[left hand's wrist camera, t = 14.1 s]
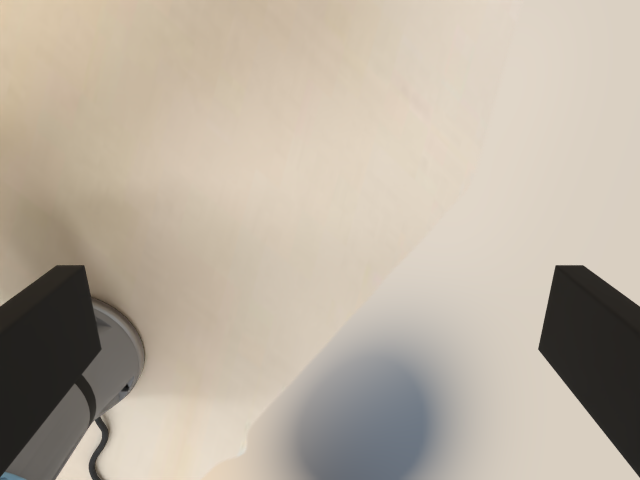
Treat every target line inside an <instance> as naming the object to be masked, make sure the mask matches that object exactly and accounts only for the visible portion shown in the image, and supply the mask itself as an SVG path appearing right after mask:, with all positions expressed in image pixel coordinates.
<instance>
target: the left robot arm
mask: <svg viewBox="0 0 640 480" xmlns="http://www.w3.org/2000/svg"><path fill="white" fill-rule="evenodd" d="M538 350H539V351H540V352H541V353H542V355H543V356H544V357H545V358H546V360H547V361H548V362H549V364H550V365H551V366H552V367H553V369H554V370H555V371H556V372H557V374H558V375H559V376H560V377H561V379H562V380H563V381H564V382H565V384H566V385H567V386H568V387H569V389H570V390H571V391H572V393H573V394H574V395H575V396H576V398H577V399H578V400H579V401H580V403H581V404H582V405H583V406H584V408H585V409H586V410H587V411H588V413H589V414H590V415H591V417H592V418H593V419H594V420H595V422H596V423H597V424H598V425H599V427H600V428H601V429H602V430H603V432H604V433H605V434H606V435H607V437H608V438H609V439H610V441H611V442H612V443H613V444H614V446H615V447H616V448H617V449H618V451H619V452H620V453H621V454H622V456H623V457H624V458H625V459H626V461H627V462H628V463H629V465H630V466H631V467H632V468H633V470H634V471H635V472H636V473H637V475H638V476H639V477H640V306H638V305H637V304H635V303H634V302H633V301H631V300H630V299H629V298H627V297H626V296H624V295H623V294H622V293H620V292H619V291H618V290H616V289H615V288H613V287H612V286H611V285H609V284H608V283H607V282H605V281H604V280H602V279H601V278H600V277H598V276H597V275H596V274H594V273H593V272H591V271H590V270H589V269H587V268H586V267H585V266H583V265H556V267H555V271H554V276H553V281H552V286H551V290H550V295H549V300H548V305H547V310H546V314H545V319H544V324H543V329H542V334H541V338H540V343H539V348H538ZM144 359H145V358H144V348H143V344H142V341H141V339H140V336H139V335H138V333H137V331H136V329H135V328H134V326H133V325H132V324H131V323H130V321H129V320H128V319H127V318H126V317H125V316H124V315H122V314H121V313H120V312H119V311H117V310H116V309H115V308H113V307H112V306H110V305H108V304H106V303H104V302H102V301H100V300H97V299H94V298H91V295H90V290H89V285H88V281H87V276H86V271H85V266H84V265H57V266H55V267H54V268H53V269H51V270H50V271H48V272H47V273H46V274H44V275H43V276H42V277H40V278H39V279H38V280H36V281H35V282H33V283H32V284H31V285H29V286H28V287H27V288H25V289H24V290H22V291H21V292H20V293H18V294H17V295H16V296H14V297H13V298H11V299H10V300H9V301H7V302H6V303H5V304H3V305H2V306H0V480H55V479H56V478H57V476H58V474H59V473H60V471H61V470H62V468H63V467H64V465H65V464H66V462H67V461H68V459H69V457H70V456H71V454H72V453H73V451H74V450H75V448H76V447H77V445H78V443H79V442H80V440H81V439H82V437H83V436H84V434H85V432H86V431H87V429H88V428H89V426H90V425H91V423H92V422H93V421H94V420H95V422H96V424H97V425H98V427H99V428H100V429H101V431H102V440H101V443H100V445H99V446H98V448H97V449H96V451H95V452H94V453H93V455H92V457H91V459H90V462H89V472H90V475H91V477H92V479H93V480H100V479H99V477H98V476H97V474H96V471H95V461H96V459H97V457H98V456H99V454H100V453H101V451H102V450H103V448H104V447H105V445H106V443H107V440H108V429H107V427H106V425H105V424H104V422H103V421H102V419H101V417H100V416H101V415H102V414H104V413H105V412H106V411H108V410H109V409H110V408H112V407H113V406H114V405H116V404H117V403H118V402H120V401H121V400H122V399H123V398H125V397H126V396H127V395H128V394H129V393H130V391H131V390H132V389H133V387H134V386H135V384H136V382H137V381H138V379H139V377H140V375H141V373H142V370H143V366H144Z"/></svg>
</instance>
